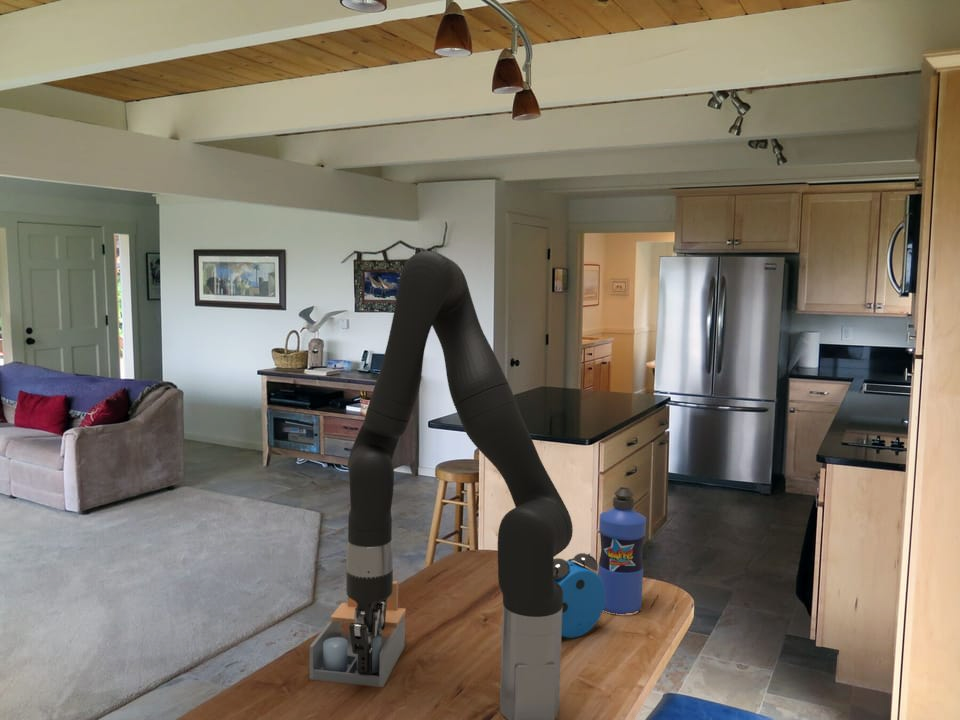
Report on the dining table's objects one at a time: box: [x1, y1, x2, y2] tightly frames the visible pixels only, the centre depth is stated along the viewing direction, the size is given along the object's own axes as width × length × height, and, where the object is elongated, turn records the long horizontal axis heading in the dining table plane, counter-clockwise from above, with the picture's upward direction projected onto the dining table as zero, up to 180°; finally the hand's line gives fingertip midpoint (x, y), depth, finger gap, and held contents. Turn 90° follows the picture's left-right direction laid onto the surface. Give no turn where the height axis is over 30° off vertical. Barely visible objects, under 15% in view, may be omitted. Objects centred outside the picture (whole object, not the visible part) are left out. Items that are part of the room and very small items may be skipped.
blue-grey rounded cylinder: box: [357, 635, 381, 674], centre depth 130 cm, size 4×4×5 cm
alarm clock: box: [553, 552, 605, 639], centre depth 149 cm, size 13×6×15 cm, turn 122°
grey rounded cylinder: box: [323, 637, 348, 672], centre depth 131 cm, size 4×4×5 cm
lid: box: [330, 580, 407, 628], centre depth 139 cm, size 6×12×6 cm, turn 81°
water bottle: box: [597, 486, 647, 614], centre depth 161 cm, size 9×9×25 cm
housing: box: [309, 616, 406, 688], centre depth 135 cm, size 14×12×7 cm
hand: (369, 666), depth 131 cm, fingers closed on blue-grey rounded cylinder, 4 cm apart
